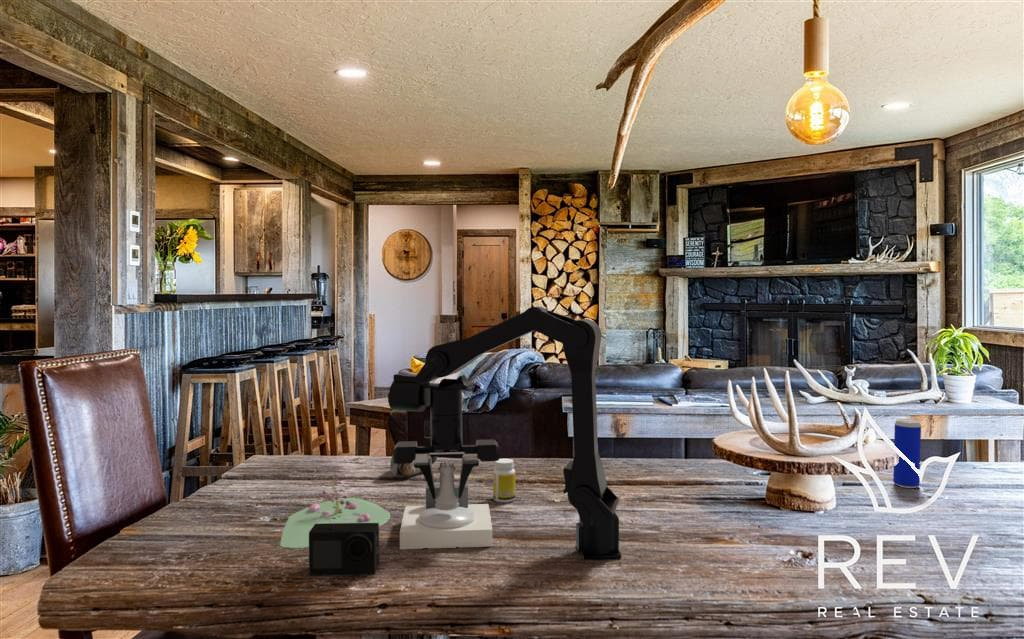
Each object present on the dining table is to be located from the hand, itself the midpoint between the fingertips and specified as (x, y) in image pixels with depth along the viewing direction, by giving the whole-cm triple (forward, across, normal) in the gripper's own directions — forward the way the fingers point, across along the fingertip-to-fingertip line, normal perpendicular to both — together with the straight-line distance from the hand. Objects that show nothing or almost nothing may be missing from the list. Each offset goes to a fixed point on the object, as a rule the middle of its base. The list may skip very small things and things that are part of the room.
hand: (447, 498), depth 123 cm
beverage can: (+8, -104, -22) cm, 106 cm away
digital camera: (+7, +16, +14) cm, 23 cm away
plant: (+8, +22, -8) cm, 25 cm away
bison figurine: (+7, +8, -42) cm, 43 cm away
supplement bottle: (+7, -12, -20) cm, 24 cm away
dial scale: (+7, 0, -1) cm, 7 cm away
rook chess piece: (+2, 0, 0) cm, 2 cm away
